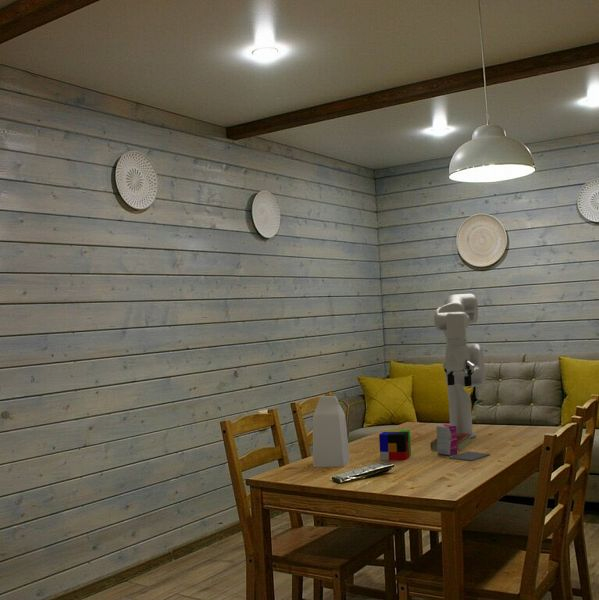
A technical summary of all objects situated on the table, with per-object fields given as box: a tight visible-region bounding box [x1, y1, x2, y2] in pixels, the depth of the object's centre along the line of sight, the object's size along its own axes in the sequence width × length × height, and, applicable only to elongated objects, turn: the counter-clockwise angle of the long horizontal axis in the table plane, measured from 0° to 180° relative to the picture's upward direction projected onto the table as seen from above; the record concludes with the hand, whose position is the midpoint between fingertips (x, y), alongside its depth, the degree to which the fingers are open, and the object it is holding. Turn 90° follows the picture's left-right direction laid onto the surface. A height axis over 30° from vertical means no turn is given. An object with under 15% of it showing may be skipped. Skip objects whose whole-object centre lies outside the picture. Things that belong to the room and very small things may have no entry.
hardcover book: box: [430, 433, 472, 452], centre depth 309 cm, size 12×21×4 cm, turn 154°
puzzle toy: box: [378, 429, 412, 461], centre depth 291 cm, size 10×10×10 cm
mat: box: [448, 451, 491, 462], centre depth 284 cm, size 10×13×1 cm
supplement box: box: [436, 423, 458, 457], centre depth 292 cm, size 6×6×12 cm
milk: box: [312, 395, 351, 468], centre depth 287 cm, size 12×12×26 cm
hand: (459, 385), depth 297 cm, fingers open, 9 cm apart
